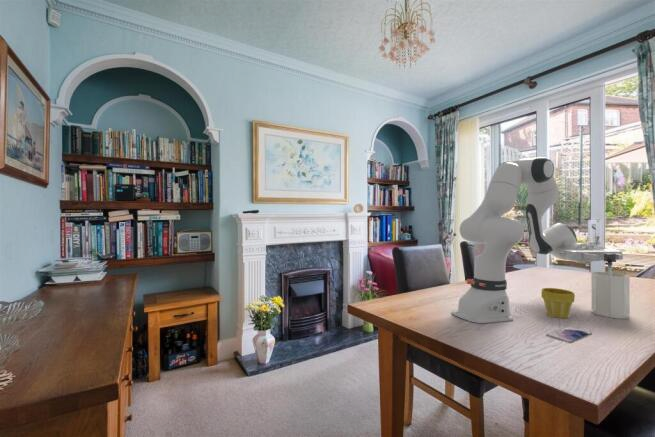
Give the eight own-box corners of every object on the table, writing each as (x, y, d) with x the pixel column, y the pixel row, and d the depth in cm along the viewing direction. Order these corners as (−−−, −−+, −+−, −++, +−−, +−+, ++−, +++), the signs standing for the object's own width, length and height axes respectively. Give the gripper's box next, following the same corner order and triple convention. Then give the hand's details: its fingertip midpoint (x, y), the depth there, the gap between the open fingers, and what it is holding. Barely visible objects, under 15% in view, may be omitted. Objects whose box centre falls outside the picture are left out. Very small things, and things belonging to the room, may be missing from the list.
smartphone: (592, 333, 99) (570, 342, 91) (592, 335, 99) (570, 345, 91) (567, 325, 105) (545, 334, 98) (567, 328, 105) (545, 336, 98)
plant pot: (581, 320, 111) (580, 294, 111) (549, 319, 113) (549, 293, 113) (564, 312, 121) (564, 288, 121) (536, 310, 123) (536, 287, 123)
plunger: (617, 312, 113) (617, 255, 113) (593, 307, 120) (592, 253, 120) (627, 310, 116) (627, 254, 116) (603, 305, 123) (602, 252, 123)
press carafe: (620, 320, 111) (620, 277, 111) (586, 312, 121) (586, 273, 121) (637, 315, 117) (637, 274, 117) (604, 308, 126) (604, 270, 126)
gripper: (556, 246, 133) (581, 249, 119) (604, 245, 132) (635, 249, 118) (556, 260, 133) (581, 265, 119) (604, 260, 132) (635, 265, 118)
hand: (608, 257), depth 119 cm, fingers open, 8 cm apart
